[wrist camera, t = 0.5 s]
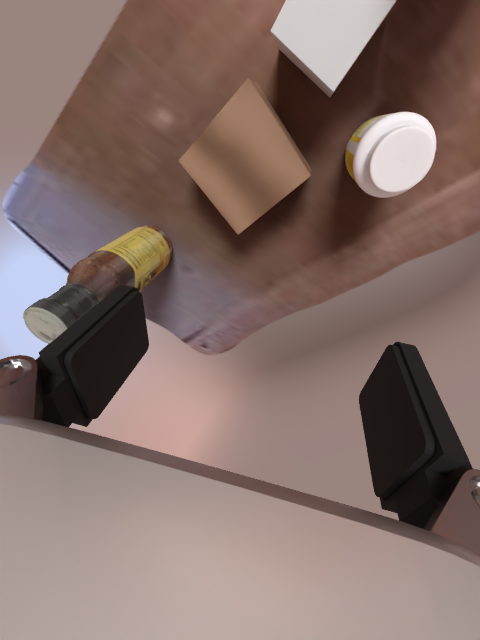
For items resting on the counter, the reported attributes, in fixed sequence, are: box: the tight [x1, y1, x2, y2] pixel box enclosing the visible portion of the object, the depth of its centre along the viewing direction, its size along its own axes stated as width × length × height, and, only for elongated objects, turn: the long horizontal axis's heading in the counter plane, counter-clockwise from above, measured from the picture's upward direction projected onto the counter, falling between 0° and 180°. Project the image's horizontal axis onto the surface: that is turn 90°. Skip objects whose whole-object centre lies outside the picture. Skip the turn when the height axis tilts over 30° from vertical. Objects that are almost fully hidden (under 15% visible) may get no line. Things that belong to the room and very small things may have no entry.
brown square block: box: [179, 78, 311, 234], centre depth 27 cm, size 9×9×5 cm
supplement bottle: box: [345, 112, 436, 198], centre depth 22 cm, size 6×6×10 cm
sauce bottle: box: [23, 225, 172, 344], centre depth 30 cm, size 6×6×20 cm
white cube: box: [271, 0, 397, 98], centre depth 20 cm, size 6×6×6 cm
